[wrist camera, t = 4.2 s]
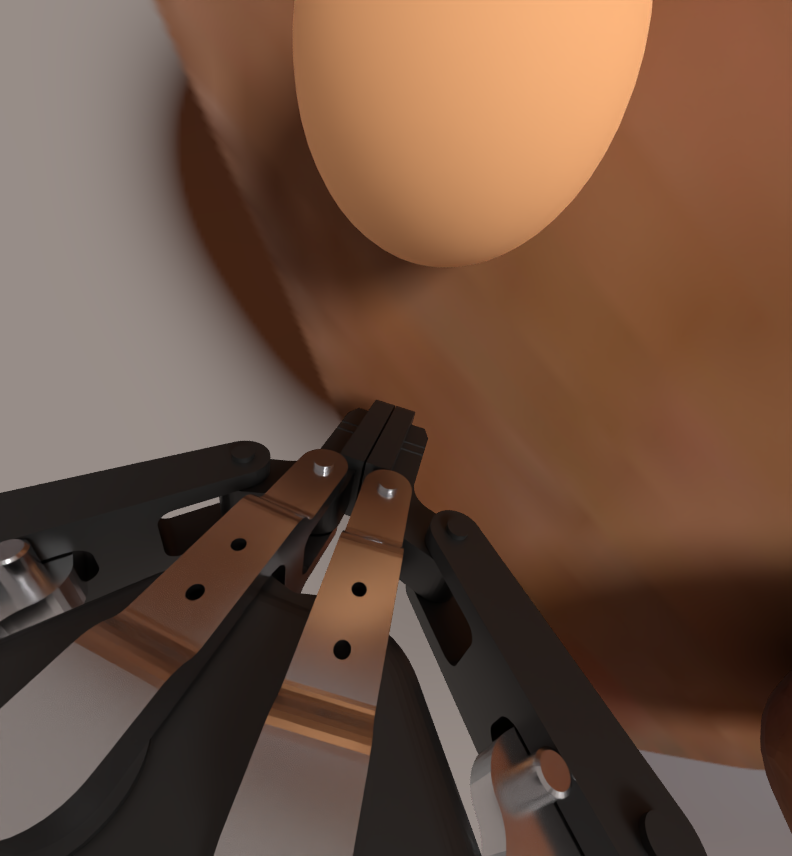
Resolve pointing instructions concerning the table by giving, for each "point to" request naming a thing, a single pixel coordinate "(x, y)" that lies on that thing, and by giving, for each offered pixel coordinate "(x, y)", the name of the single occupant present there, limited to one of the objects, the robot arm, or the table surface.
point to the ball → (462, 113)
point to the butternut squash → (779, 744)
